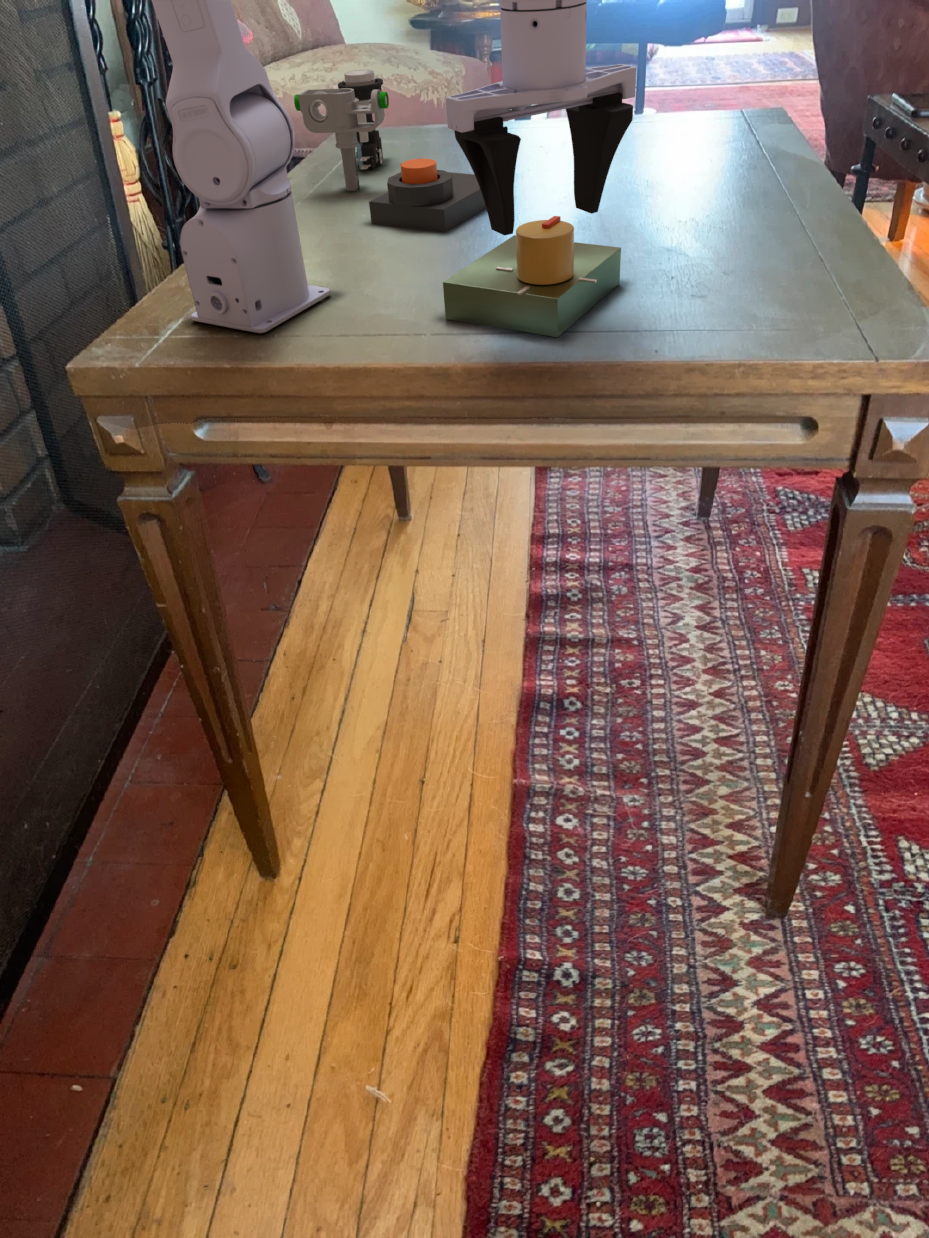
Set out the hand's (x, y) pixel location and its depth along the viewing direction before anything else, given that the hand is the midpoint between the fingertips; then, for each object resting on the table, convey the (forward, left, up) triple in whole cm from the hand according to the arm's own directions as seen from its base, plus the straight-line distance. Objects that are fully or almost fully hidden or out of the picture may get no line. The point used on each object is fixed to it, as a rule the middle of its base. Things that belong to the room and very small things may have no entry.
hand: (545, 220), depth 69 cm
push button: (+34, +41, -7) cm, 54 cm away
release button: (+18, +23, -3) cm, 29 cm away
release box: (+21, +23, -7) cm, 32 cm away
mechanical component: (+25, +37, -7) cm, 45 cm away
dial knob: (0, 0, -4) cm, 4 cm away
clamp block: (+2, +2, -7) cm, 8 cm away
